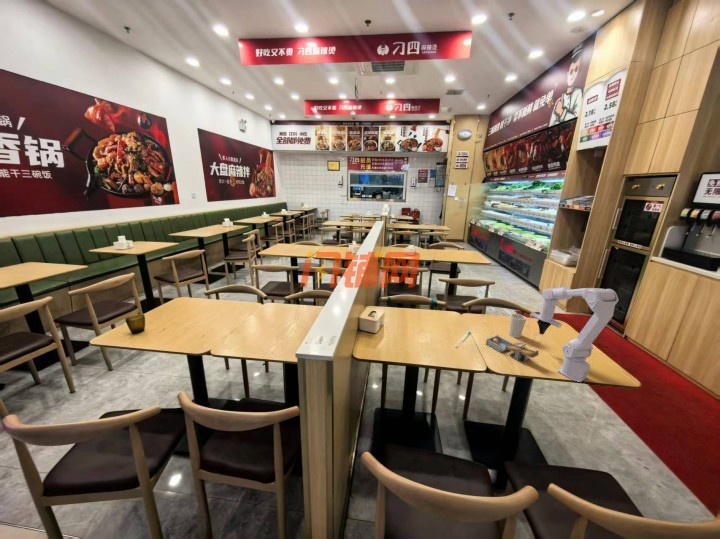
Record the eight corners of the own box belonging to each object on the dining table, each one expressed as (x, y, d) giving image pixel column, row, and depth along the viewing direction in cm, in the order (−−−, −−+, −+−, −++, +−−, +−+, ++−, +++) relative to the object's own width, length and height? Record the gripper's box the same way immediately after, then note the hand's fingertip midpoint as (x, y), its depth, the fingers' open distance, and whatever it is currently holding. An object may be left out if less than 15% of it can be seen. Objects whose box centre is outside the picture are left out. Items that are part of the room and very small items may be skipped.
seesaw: (546, 351, 141) (546, 346, 141) (532, 358, 135) (532, 353, 135) (518, 342, 153) (518, 338, 153) (505, 348, 147) (505, 344, 147)
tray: (511, 348, 152) (512, 342, 151) (501, 352, 147) (502, 347, 146) (496, 340, 159) (497, 334, 158) (485, 344, 155) (486, 338, 154)
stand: (529, 358, 143) (531, 350, 141) (521, 362, 139) (523, 354, 138) (518, 352, 148) (520, 344, 146) (510, 356, 144) (511, 348, 143)
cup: (524, 339, 161) (528, 320, 158) (509, 337, 163) (513, 318, 159) (519, 332, 169) (523, 314, 165) (505, 330, 170) (509, 312, 167)
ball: (500, 343, 154) (498, 337, 154) (496, 344, 152) (495, 338, 153) (495, 343, 156) (493, 338, 157) (492, 344, 155) (490, 339, 156)
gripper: (566, 314, 141) (560, 338, 145) (537, 303, 153) (532, 326, 157) (559, 317, 138) (553, 341, 142) (530, 306, 150) (525, 328, 154)
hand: (541, 333), depth 149 cm, fingers closed
